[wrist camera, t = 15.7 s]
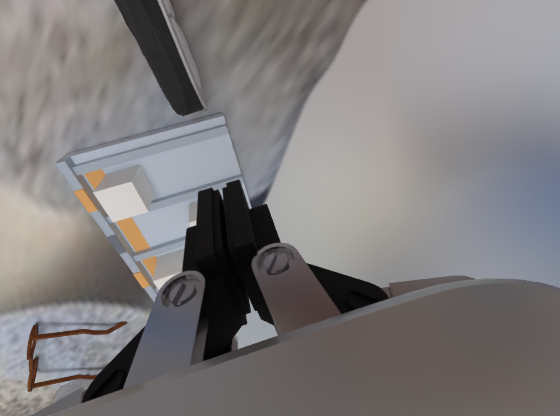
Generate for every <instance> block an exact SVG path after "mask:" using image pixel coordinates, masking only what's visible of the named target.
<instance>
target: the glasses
mask: <svg viewBox="0 0 560 416" xmlns="http://www.w3.org/2000/svg"><path fill="white" fill-rule="evenodd" d="M125 324H127V322H121V323H119V324H117V325H115V326H114V327H112V328H110V329H108V330H88V329H80V330H72V331H64V332H56V333H48V334H40V335H37V333H38V326H37V325H34V326H33V327H32V330H31V333H30V337H29V341H28V347H27V360H29V372H30V374H29V380H28V392H30V391H32V389H33V388H37V387H42V386H46V385H51V384H56V383H61V382H66V381H71V380H75V379H87V380H93V379H95V378H96V376H97V375H93V376H88V375H80V374H79V375H74V376H69V377H64V378H59V379H54V380H49V381H44V382H39V383H34V382H35V378H36V372H37V365H38V359H37V358H36V359H34V360H33V354H34V350H35V346H36V341H37V340H39V339H47V338H54V337H62V336H69V335H76V334H92V335H102V334H109V333H111V332H113V331H115V330H116V329H118V328H120V327H122V326H124V325H125ZM32 340H33V344H32ZM31 346H32V348H31ZM33 371H34V372H33ZM32 376H33V377H32Z"/></svg>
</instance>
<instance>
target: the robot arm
mask: <svg viewBox="0 0 560 416" xmlns="http://www.w3.org/2000/svg"><path fill="white" fill-rule="evenodd" d="M226 185H227V187H224V188H222V192H223V199H222V196H221V194H220V191H219V190H218V189H217V190H213V188H212V187H211V188H208V189H205V190H201V191H198V201H197V219H196V225H195V226H192V227H189V228H187V230H186V238H185V247H184V256H183V266H182V273H179V274H177V275H175V276H173V277H171V278H170V279H169V280H168V281H166V282H165V283H164V285H163V286H162V287H161V288H160V290H159V292H158V294H157V296H156V298H155V301H154V304H153V307H152V310H151V312H150V315H149V318H148V321H147V323H146V326H145V327H144V328H143V329H142V330H141V331H140V332H139V333H138V334H137V335H136V336H135V337H134V338H133V339H132V340H131V341H130V342H129V343H128V344H127V345H126V346H125V347H124V348H123V349H122V350H121V352H120V353H119V354H118V355H117V356H116V357H115V358H114V359H113V360H112V361H111V362H110V363H109V364H108V365H107V366H106V367H105V368H104V369H103V370H102V371H101V372H100V373H99V374H98V375H97V376H96V378H95V379H94V380H93V381H92V383H91V384H90V385H89V387H88V389H87V390H86V389H85V388H83V387H82V388H80V389H78V390H76V391H74V392H73V393H71V394H69V395H67V396H65V397H64V398H62V399H60V400H58V401H56V402H54V403H53V404H51V405H49V406H47V407H45V408H44V409H42V410H40V411H38V412H36V413H35V414H33V415H31V416H560V288H558V287H555V286H551V285H548V284H544V283H539V282H533V281H527V280H516V279H474V278H470V277H466V276H448V277H439V278H430V279H421V280H413V281H404V282H396V283H389V287H385V288H380V287H378V286H376V285H374V284H371V283H369V282H366V281H363V280H360V279H356V278H353V277H350V276H347V275H343V274H340V273H337V272H334V271H330V270H327V269H324V268H321V267H318V266H314V265H311V264H308V263H306V262H305V261H304V259H303V258H302V257H301V255H300V254H299V252H298V251H297V249H296V248H295V247H293V246H292V245H289V244H286V243H281V242H280V239H279V237H278V234H277V231H276V228H275V226H274V223H273V220H272V217H271V214H270V211H269V209H268V206H267V204H264V205H261V206H258V207H255V208H251V209H249V206H248V203H247V200H246V197H245V194H244V191H243V188H242V185H241V182H240V179H239V180H235V181H232V182H228V183H226ZM248 296H249V297H248ZM249 299H250V301H251V303H252V306H253V308H254V310H255V311H258V314H259V316H260V318H261V319H262V320H264V321H266V322H268V323H270V324H272V325H274V326H275V329H276V331H277V334H278V336H276V337H273V338H270V339H267V340H264V341H261V342H258V343H255V344H252V345H250V346H246V347H243V348H240V349H238V340H237V336H236V333H237V332H238V331H239V329H240V328H241V326H243V325H246V324H247V319H246V314H248V313H250V312H251V309H250V303H249Z"/></svg>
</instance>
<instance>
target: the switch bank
mask: <svg viewBox="0 0 560 416" xmlns="http://www.w3.org/2000/svg"><path fill="white" fill-rule="evenodd" d="M55 165H56V166H57V167H58V169H59V170H60V172H61V173H62V174H63V176H64V177H65V179H66V180H67V181H68V183H69V184H70V186H71V187H72V188H73V190H74V193H75V194H76V196H77V197H78V198H79V200H80V201H81V203H82V204H83V205H84V207H85V208H86V209H87V211H88V212H89V213H91V215H92V216H93V218H94V219H95V220H96V222H97V223H98V225H99V226H100V227H101V229H102V230H103V232H104V233H105V234H106V236H107V239H108V240H109V241H110V243H111V244H112V246H113V247H114V248H115V250H116V251H117V253H118V254H120V255H121V257H122V258H123V259H124V261H125V262H126V264H127V265H128V266H129V268H130V269H131V271H132V272H133V273H134V274H133V275H134V276H135V278H136V279H137V280H138V282H139V283H140V285H141V286H142V287H143V288H144V289H145V290H146V292H147V293H148V294H149V296H150V297H151V299H152V300H153V301H155V298H156V296H157V294H158V292H159V290H158V288H157V287H156V285H155V284H154V282H153V277H154V272H155V267H156V261H157V257H159V256H162V255H166V254H169V253H172V252H175V251H178V250H181V249H184V247H185V238H186V230H187V228H189V227H190V225H189V204H190V203H193V202H196V201H198V191H201V190H205V189H208V188H211V187H212V188H213V190H217V189H218V190H219V191H220V194H221V196H222V199H223V192H222V188H224V187H227V185H226V183H228V182H232V181H235V180H239V179H240V182H241V185H242V188H243V191H244V194H245V197H246V200H247V203H248V206H249V209H251V204H250V201H249V198H248V195H247V191H246V188H245V185H244V181H243V178H242V175H241V172H240V168H239V165H238V162H237V158H236V155H235V152H234V149H233V145H232V142H231V139H230V135H229V131H228V128H227V125H226V122H225V119H224V116H223V113H219V114H215V115H211V116H207V117H203V118H200V119H196V120H192V121H188V122H185V123H181V124H177V125H173V126H169V127H166V128H162V129H158V130H154V131H150V132H147V133H143V134H139V135H135V136H132V137H128V138H124V139H120V140H116V141H113V142H109V143H105V144H101V145H98V146H94V147H90V148H86V149H82V150H79V151H75V152H71V153H68V154H66V155H65V156H64V157H63V158H61V159H60V160H59V161H58V162H56V163H55ZM137 165H140V167H141V168H142V170H143V172H144V174H145V176H146V178H147V180H148V182H149V184H150V186H151V187H152V189H153V191H154V195H153V198H152V202H151V205H150V208H149V212H146V213H143V214H140V215H136V216H133V217H130V218H126V219H123V220H120V221H116V222H112V220H111V219H110V217H109V216H108V214H107V213H106V211H105V210H104V208H103V207H102V205H101V204H100V202H99V201H98V200H97V198H96V197H95V195H94V194H93V192H94V190H95V189H96V187H97V186H98V185H99V183H100V182H101V181H102V179H103V178H104V176H105V175H106V174H109V173H112V172H116V171H119V170H123V169H127V168H130V167H134V166H137Z"/></svg>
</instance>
